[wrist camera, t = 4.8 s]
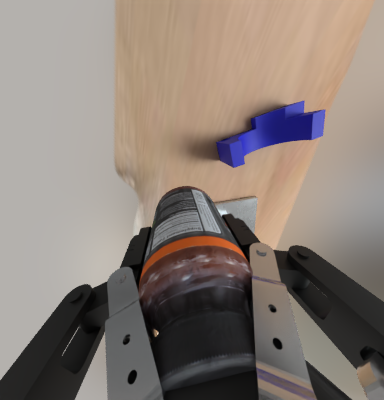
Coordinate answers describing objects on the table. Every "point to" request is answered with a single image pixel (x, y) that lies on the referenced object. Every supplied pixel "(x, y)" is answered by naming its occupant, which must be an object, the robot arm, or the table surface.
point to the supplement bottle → (196, 292)
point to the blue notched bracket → (272, 132)
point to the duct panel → (240, 209)
